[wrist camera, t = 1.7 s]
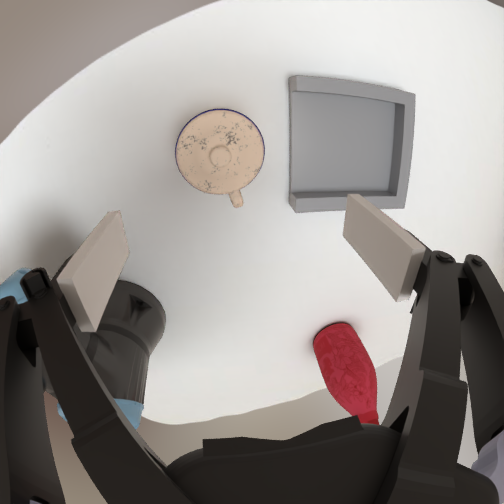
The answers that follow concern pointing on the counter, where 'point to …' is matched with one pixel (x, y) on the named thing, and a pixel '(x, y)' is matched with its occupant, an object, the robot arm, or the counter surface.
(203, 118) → the teacup with lid
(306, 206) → the shallow gray tray
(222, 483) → the robot arm
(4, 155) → the counter surface
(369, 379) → the wine bottle
